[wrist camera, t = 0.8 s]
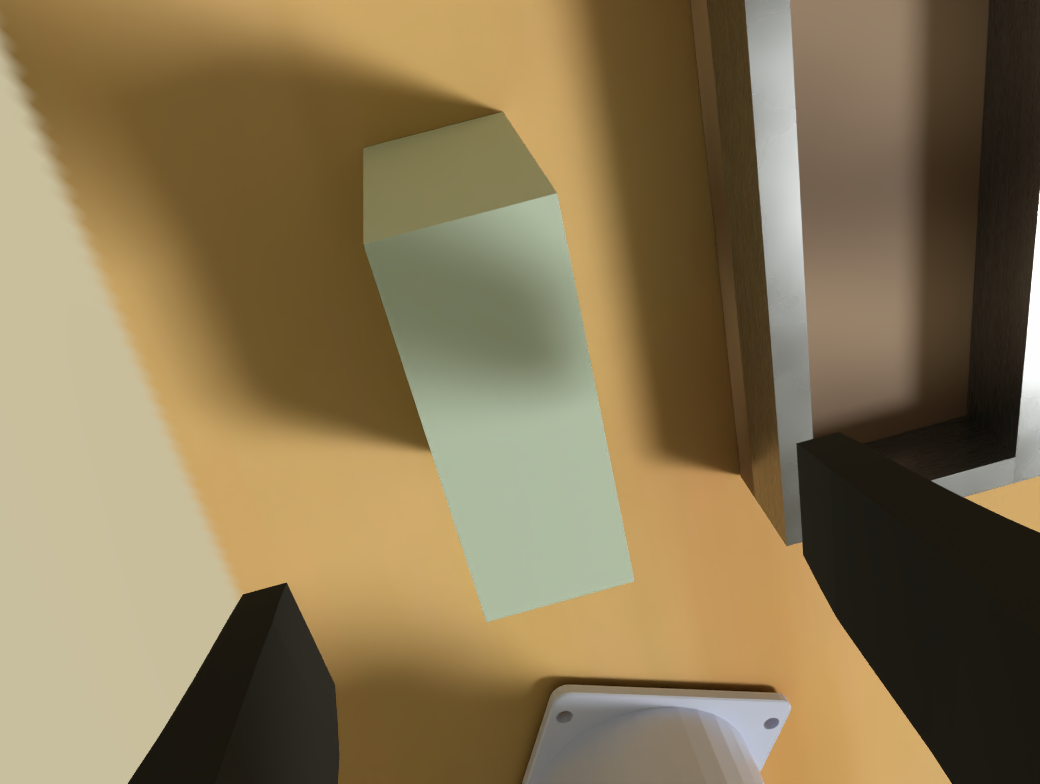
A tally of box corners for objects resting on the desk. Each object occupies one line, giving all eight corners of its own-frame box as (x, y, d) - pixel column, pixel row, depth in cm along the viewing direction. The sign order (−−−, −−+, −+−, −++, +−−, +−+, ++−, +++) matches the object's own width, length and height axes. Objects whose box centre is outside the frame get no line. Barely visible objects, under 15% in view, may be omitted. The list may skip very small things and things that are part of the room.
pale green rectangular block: (571, 424, 22) (634, 581, 17) (457, 455, 22) (486, 622, 17) (502, 110, 18) (556, 193, 13) (363, 147, 18) (363, 243, 13)
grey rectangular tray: (971, 413, 24) (1044, 474, 22) (740, 476, 24) (786, 545, 21) (1005, -182, 17) (1120, -196, 14) (679, -99, 17) (737, -99, 14)
